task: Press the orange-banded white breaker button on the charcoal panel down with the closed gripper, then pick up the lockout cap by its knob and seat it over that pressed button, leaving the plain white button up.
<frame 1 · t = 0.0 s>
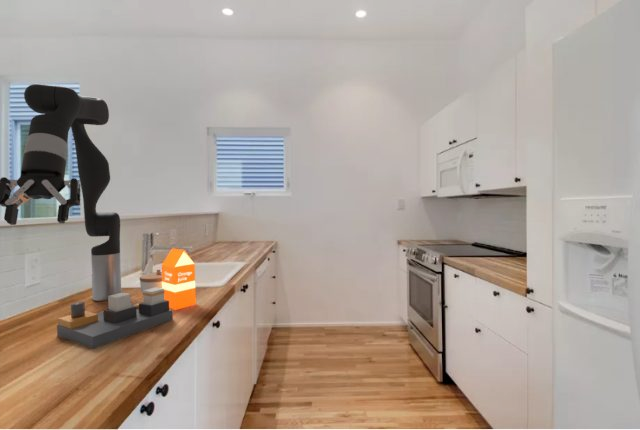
hand: (36, 223, 68), 31 cm above the worktop, tool tilted 20°, fingers open, 8 cm apart
lockout cap: (78, 322, 86), point 3 cm above the worktop, touching breaker panel
breaker plain: (119, 302, 89), point 8 cm above the worktop, slide at 0.0 cm
breaker panel: (118, 327, 90), on the worktop
orange juice: (179, 305, 111), on the worktop
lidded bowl: (159, 299, 119), on the worktop
breaker tagged: (153, 296, 94), point 8 cm above the worktop, slide at 0.0 cm
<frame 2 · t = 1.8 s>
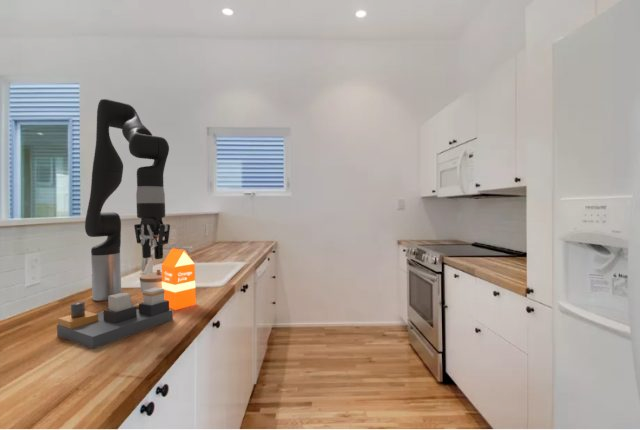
hand: (152, 258, 94), 19 cm above the worktop, tool pointing down, fingers open, 5 cm apart
nothing on the worktop moved.
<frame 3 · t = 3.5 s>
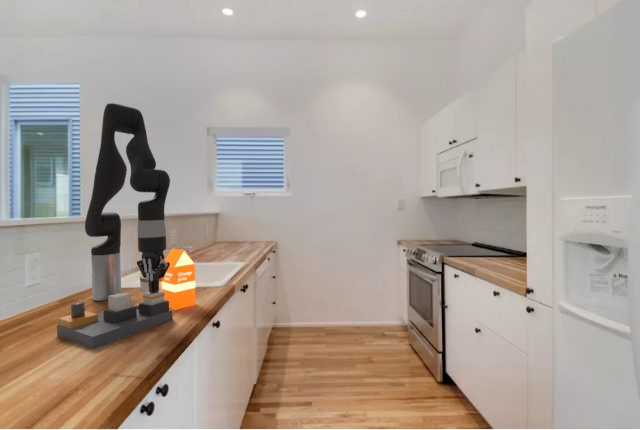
hand: (153, 292, 94), 9 cm above the worktop, tool pointing down, fingers closed
breaker tagged: (154, 299, 94), point 7 cm above the worktop, slide at 0.9 cm, touching gripper
everything else where it was.
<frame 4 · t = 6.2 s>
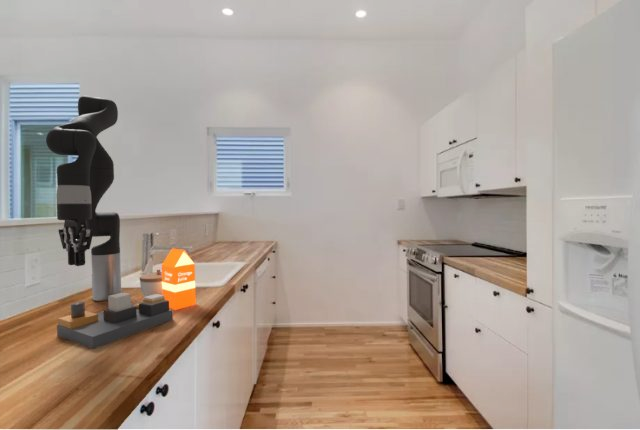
hand: (76, 264, 86), 19 cm above the worktop, tool pointing down, fingers open, 3 cm apart
breaker tagged: (154, 303, 94), point 5 cm above the worktop, slide at 2.1 cm
everything else where it was.
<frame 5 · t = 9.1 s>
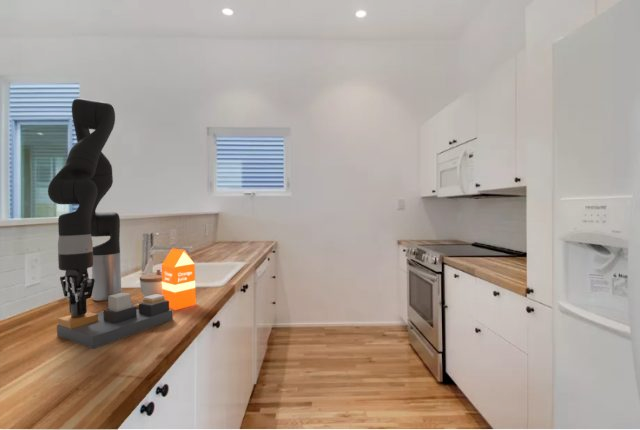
hand: (78, 312, 86), 6 cm above the worktop, tool pointing down, fingers closed on lockout cap, 3 cm apart
lockout cap: (78, 322, 86), point 3 cm above the worktop, touching breaker panel, gripper
everything else where it was.
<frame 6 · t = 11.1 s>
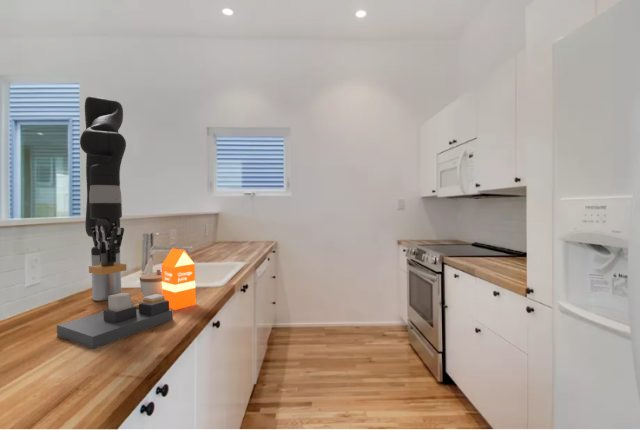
hand: (107, 262, 89), 19 cm above the worktop, tool pointing down, fingers closed on lockout cap, 3 cm apart
lockout cap: (108, 271, 89), point 17 cm above the worktop, touching gripper
everything else where it was.
when the fingers open (11 cm above the worktop, at t = 13.3 s): lockout cap drops 1 cm, resting on breaker tagged.
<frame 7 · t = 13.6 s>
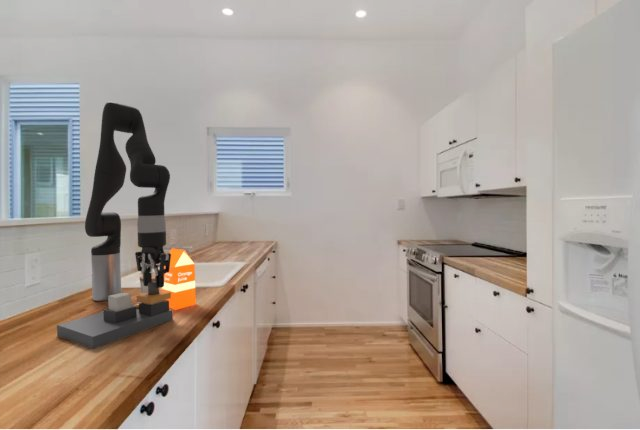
hand: (153, 286, 94), 11 cm above the worktop, tool pointing down, fingers open, 5 cm apart
lockout cap: (153, 299, 94), point 7 cm above the worktop, touching breaker tagged
breaker tagged: (154, 303, 94), point 5 cm above the worktop, slide at 2.1 cm, touching lockout cap
everything else where it was.
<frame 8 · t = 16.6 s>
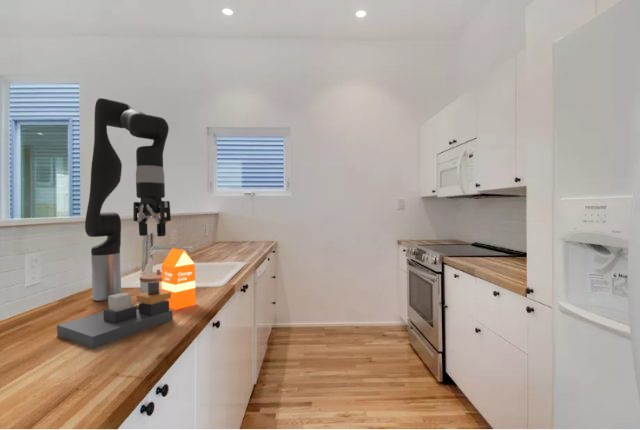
hand: (152, 235, 94), 26 cm above the worktop, tool pointing down, fingers open, 8 cm apart
nothing on the worktop moved.
at the end: breaker tagged slide at 2.1 cm; lockout cap 0.0 cm from the target spot, point 6.7 cm above the worktop; breaker plain slide at 0.0 cm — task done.
